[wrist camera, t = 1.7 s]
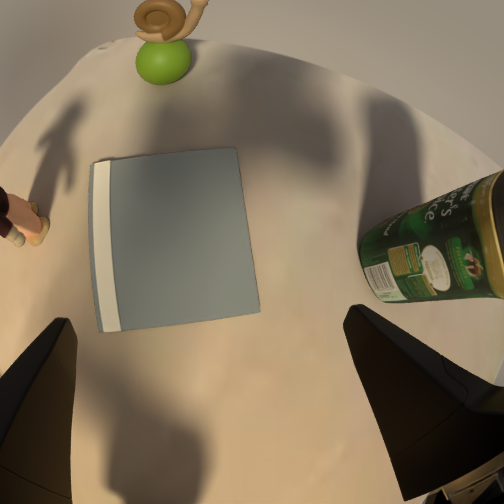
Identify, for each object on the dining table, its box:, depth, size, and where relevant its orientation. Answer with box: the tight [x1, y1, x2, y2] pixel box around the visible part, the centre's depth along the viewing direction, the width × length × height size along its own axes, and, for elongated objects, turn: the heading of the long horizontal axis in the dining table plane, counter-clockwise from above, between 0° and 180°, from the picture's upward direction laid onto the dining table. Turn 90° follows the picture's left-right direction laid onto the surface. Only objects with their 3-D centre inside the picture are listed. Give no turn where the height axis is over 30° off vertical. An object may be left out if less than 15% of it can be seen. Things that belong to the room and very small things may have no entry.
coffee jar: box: [360, 170, 504, 303], centre depth 17 cm, size 10×8×19 cm
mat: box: [88, 148, 260, 332], centre depth 21 cm, size 13×14×1 cm
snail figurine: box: [134, 0, 209, 85], centre depth 17 cm, size 5×6×12 cm
